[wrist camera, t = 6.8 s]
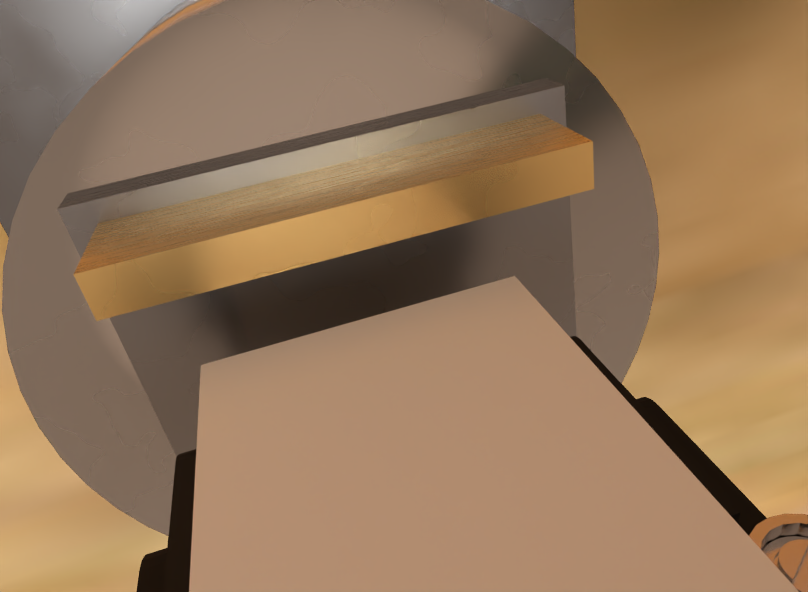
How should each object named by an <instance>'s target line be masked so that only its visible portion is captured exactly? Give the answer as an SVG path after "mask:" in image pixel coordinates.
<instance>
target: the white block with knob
mask: <svg viewBox="0 0 808 592" xmlns="http://www.w3.org/2000/svg"><path fill="white" fill-rule="evenodd" d="M189 592H799V591H798V590H797V589H796V588H795V587H794V586H793V585H792V583H791V582H790V581H789V580H788V579H787V578H786V577H785V576H784V575H783V573H782V572H781V571H780V570H779V569H778V568H777V567H776V566H775V565H774V563H773V562H772V561H771V560H770V559H769V558H768V557H767V556H766V555H765V553H764V552H763V551H762V550H761V549H760V548H759V547H758V546H757V545H756V543H755V542H754V541H753V540H752V539H751V538H750V537H749V536H748V535H747V533H746V532H745V531H744V530H743V529H742V528H741V527H740V526H739V525H738V523H737V522H736V521H735V520H734V519H733V518H732V517H731V516H730V515H729V513H728V512H727V511H726V510H725V509H724V508H723V507H722V506H721V505H720V503H719V502H718V501H717V500H716V499H715V498H714V497H713V496H712V495H711V493H710V492H709V491H708V490H707V489H706V488H705V487H704V486H703V485H702V483H701V482H700V481H699V480H698V479H697V478H696V477H695V476H694V475H693V473H692V472H691V471H690V470H689V469H688V468H687V467H686V466H685V465H684V463H683V462H682V461H681V460H680V459H679V458H678V457H677V456H676V455H675V453H674V452H673V451H672V450H671V449H670V448H669V447H668V446H667V445H666V443H665V442H664V441H663V440H662V439H661V438H660V437H659V436H658V435H657V433H656V432H655V431H654V430H653V429H652V428H651V427H650V426H649V425H648V423H647V422H646V421H645V420H644V419H643V418H642V417H641V416H640V415H639V413H638V412H637V411H636V410H635V409H634V408H633V407H632V406H631V405H630V403H629V402H628V401H627V400H626V399H625V398H624V397H623V396H622V395H621V393H620V392H619V391H618V390H617V389H616V388H615V387H614V386H613V385H612V383H611V382H610V381H609V380H608V379H607V378H606V377H605V376H604V375H603V373H602V372H601V371H600V370H599V369H598V368H597V367H596V366H595V365H594V363H593V362H592V361H591V360H590V359H589V358H588V357H587V356H586V355H585V353H584V352H583V351H582V350H581V349H580V348H579V347H578V346H577V345H576V343H575V342H574V341H573V340H572V339H571V338H570V337H569V336H568V335H567V333H566V332H565V331H564V330H563V329H562V328H561V327H560V326H559V325H558V323H557V322H556V321H555V320H554V319H553V318H552V317H551V316H550V315H549V313H548V312H547V311H546V310H545V309H544V308H543V307H542V306H541V305H540V303H539V302H538V301H537V300H536V299H535V298H534V297H533V296H532V295H531V293H530V292H529V291H528V290H527V289H526V288H525V287H524V286H523V285H522V283H521V282H520V281H519V280H518V279H517V278H516V277H515V276H512V277H509V278H505V279H502V280H498V281H495V282H491V283H488V284H484V285H481V286H477V287H474V288H470V289H467V290H463V291H460V292H456V293H453V294H449V295H446V296H442V297H439V298H435V299H431V300H428V301H424V302H421V303H417V304H414V305H410V306H407V307H403V308H400V309H396V310H393V311H389V312H386V313H382V314H379V315H375V316H372V317H368V318H365V319H361V320H358V321H354V322H351V323H347V324H343V325H340V326H336V327H333V328H329V329H326V330H322V331H319V332H315V333H312V334H308V335H305V336H301V337H298V338H294V339H291V340H287V341H284V342H280V343H277V344H273V345H270V346H266V347H263V348H259V349H256V350H252V351H248V352H245V353H241V354H238V355H234V356H231V357H227V358H224V359H220V360H217V361H213V362H210V363H206V364H203V365H201V371H200V390H199V409H198V429H197V448H196V467H195V486H194V506H193V525H192V544H191V564H190V583H189Z"/></svg>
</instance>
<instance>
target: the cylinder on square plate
mask: <svg viewBox="0 0 808 592" xmlns="http://www.w3.org/2000/svg"><path fill="white" fill-rule="evenodd" d="M0 222H1V224H2V226H3V228H4V230H5V232H6V233H7V235H8V237H9V240H8V245H7V250H6V255H5V260H4V265H3V297H2V313H3V320H4V327H5V334H6V340H7V347H8V353H9V356H10V359H11V363H12V366H13V369H14V372H15V375H16V378H17V381H18V385H19V388H20V391H21V393H22V395H23V397H24V399H25V401H26V403H27V405H28V407H29V409H30V411H31V413H32V415H33V417H34V419H35V421H36V423H37V424H38V426H39V428H40V429H41V431H42V432H43V433H44V435H45V436H46V438H47V439H48V440H49V442H50V443H51V445H52V446H53V447H54V449H55V450H56V452H57V453H58V454H59V456H60V457H61V458H62V459H63V460H64V461H65V462H66V464H67V465H68V466H69V467H70V468H71V469H72V470H73V471H74V472H75V473H76V474H77V475H78V476H79V477H80V478H81V479H82V480H83V481H84V482H85V483H86V484H87V485H88V486H89V487H90V488H92V489H93V490H94V491H95V492H97V493H98V494H99V495H101V496H102V497H103V498H104V499H106V500H107V501H108V502H109V503H111V504H112V505H113V506H115V507H116V508H117V509H119V510H121V511H122V512H124V513H126V514H127V515H129V516H131V517H132V518H134V519H136V520H137V521H139V522H141V523H142V524H144V525H146V526H147V527H150V528H152V529H154V530H156V531H159V532H161V533H163V534H165V535H167V536H169V526H170V515H171V505H172V494H173V483H174V472H175V462H176V457H177V455H178V454H181V453H184V452H188V451H191V450H194V449H196V448H197V429H198V409H199V390H200V371H201V365H203V364H206V363H210V362H213V361H217V360H220V359H224V358H227V357H231V356H234V355H238V354H241V353H245V352H248V351H252V350H256V349H259V348H263V347H266V346H270V345H273V344H277V343H280V342H284V341H287V340H291V339H294V338H298V337H301V336H305V335H308V334H312V333H315V332H319V331H322V330H326V329H329V328H333V327H336V326H340V325H343V324H347V323H351V322H354V321H358V320H361V319H365V318H368V317H372V316H375V315H379V314H382V313H386V312H389V311H393V310H396V309H400V308H403V307H407V306H410V305H414V304H417V303H421V302H424V301H428V300H431V299H435V298H439V297H442V296H446V295H449V294H453V293H456V292H460V291H463V290H467V289H470V288H474V287H477V286H481V285H484V284H488V283H491V282H495V281H498V280H502V279H505V278H509V277H512V276H515V277H516V278H517V279H518V280H519V281H520V282H521V283H522V285H523V286H524V287H525V288H526V289H527V290H528V291H529V292H530V293H531V295H532V296H533V297H534V298H535V299H536V300H537V301H538V302H539V303H540V305H541V306H542V307H543V308H544V309H545V310H546V311H547V312H548V313H549V315H550V316H551V317H552V318H553V319H554V320H555V321H556V322H557V323H558V325H559V326H560V327H561V328H562V329H563V330H564V331H565V332H566V333H567V335H568V336H569V337H572V336H577V337H578V338H579V339H581V340H582V341H583V343H584V344H585V345H586V346H587V347H588V348H589V349H590V350H591V351H592V352H593V353H594V354H595V356H596V357H597V358H598V359H599V360H600V361H601V362H602V363H603V364H604V365H605V366H606V367H607V369H608V370H609V371H610V372H611V373H612V374H613V375H614V376H615V377H616V378H617V379H618V380H619V382H620V383H622V381H623V379H624V377H625V375H626V373H627V371H628V369H629V367H630V365H631V363H632V361H633V359H634V357H635V355H636V353H637V350H638V348H639V345H640V342H641V339H642V336H643V333H644V331H645V328H646V325H647V322H648V319H649V315H650V310H651V306H652V301H653V297H654V292H655V288H656V279H657V268H658V258H659V238H658V216H657V210H656V205H655V199H654V194H653V189H652V183H651V179H650V176H649V173H648V170H647V167H646V164H645V161H644V159H643V156H642V153H641V150H640V147H639V144H638V142H637V141H636V139H635V137H634V135H633V133H632V131H631V129H630V127H629V125H628V123H627V121H626V119H625V118H624V116H623V114H622V112H621V110H620V109H619V107H618V106H617V105H616V103H615V102H614V101H613V99H612V98H611V97H610V95H609V94H608V93H607V91H606V90H605V88H604V87H603V86H602V84H601V83H600V82H599V80H598V79H597V78H596V77H595V76H594V75H593V74H592V73H591V72H590V71H589V70H588V69H587V68H586V67H585V66H584V65H583V64H582V63H581V62H580V61H579V60H578V59H577V58H576V45H575V20H574V0H0Z"/></svg>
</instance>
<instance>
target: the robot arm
mask: <svg viewBox="0 0 808 592" xmlns="http://www.w3.org/2000/svg"><path fill="white" fill-rule="evenodd" d="M570 338H571V339H572V340H573V341H574V342H575V343H576V345H577V346H578V347H579V348H580V349H581V350H582V351H583V352H584V353H585V355H586V356H587V357H588V358H589V359H590V360H591V361H592V362H593V363H594V365H595V366H596V367H597V368H598V369H599V370H600V371H601V372H602V373H603V375H604V376H605V377H606V378H607V379H608V380H609V381H610V382H611V383H612V385H613V386H614V387H615V388H616V389H617V390H618V391H619V392H620V393H621V395H622V396H623V397H624V398H625V399H626V400H627V401H628V402H629V403H630V405H631V406H632V407H633V408H634V409H635V410H636V411H637V412H638V413H639V415H640V416H641V417H642V418H643V419H644V420H645V421H646V422H647V423H648V425H649V426H650V427H651V428H652V429H653V430H654V431H655V432H656V433H657V435H658V436H659V437H660V438H661V439H662V440H663V441H664V442H665V443H666V445H667V446H668V447H669V448H670V449H671V450H672V451H673V452H674V453H675V455H676V456H677V457H678V458H679V459H680V460H681V461H682V462H683V463H684V465H685V466H686V467H687V468H688V469H689V470H690V471H691V472H692V473H693V475H694V476H695V477H696V478H697V479H698V480H699V481H700V482H701V483H702V485H703V486H704V487H705V488H706V489H707V490H708V491H709V492H710V493H711V495H712V496H713V497H714V498H715V499H716V500H717V501H718V502H719V503H720V505H721V506H722V507H723V508H724V509H725V510H726V511H727V512H728V513H729V515H730V516H731V517H732V518H733V519H734V520H735V521H736V522H737V523H738V525H739V526H740V527H741V528H742V529H743V530H744V531H745V532H746V533H747V535H748V536H749V537H750V538H751V539H752V540H753V541H754V542H755V543H756V545H757V546H758V547H759V548H760V549H761V550H762V551H763V552H764V553H765V555H766V556H767V557H768V558H769V559H770V560H771V561H772V562H773V563H774V565H775V566H776V567H777V568H778V569H779V570H780V571H781V572H782V573H783V575H784V576H785V577H786V578H787V579H788V580H789V581H790V582H791V583H792V585H793V586H794V587H795V588H796V589H797V590H798V591H799V592H808V515H806V514H782V515H777V516H773V517H769V518H766V517H765V516H764V515H763V514H762V513H761V512H760V511H759V510H758V509H757V508H756V507H755V505H754V504H753V503H752V502H751V501H750V500H749V499H748V498H747V497H746V496H745V495H744V494H743V493H742V492H741V491H740V490H739V489H738V488H737V487H736V486H735V485H734V484H733V483H732V482H731V481H730V479H729V478H728V477H727V476H726V475H725V474H724V473H723V472H722V471H721V470H720V469H719V468H718V467H717V466H716V465H715V464H714V463H713V462H712V461H711V460H710V459H709V458H708V457H707V456H706V454H705V453H704V452H703V451H702V450H701V449H700V448H699V447H698V446H697V445H696V444H695V443H694V442H693V441H692V440H691V439H690V438H689V437H688V436H687V435H686V434H685V433H684V432H683V431H682V429H681V428H680V427H679V426H678V425H677V424H676V423H675V422H674V421H673V420H672V419H671V418H670V417H669V416H668V415H667V414H666V413H665V412H664V411H663V410H662V409H661V408H660V407H659V406H658V405H657V404H656V403H655V402H654V401H653V400H651V399H649V398H647V397H642V398H639V399H635V398H634V397H633V396H632V395H631V393H630V392H629V391H628V390H627V389H626V388H625V387H624V386H623V385H622V384H621V383H620V382H619V380H618V379H617V378H616V377H615V376H614V375H613V374H612V373H611V372H610V371H609V370H608V369H607V367H606V366H605V365H604V364H603V363H602V362H601V361H600V360H599V359H598V358H597V357H596V356H595V354H594V353H593V352H592V351H591V350H590V349H589V348H588V347H587V346H586V345H585V344H584V343H583V341H582V340H581V339H579V338H578V337H577V336H572V337H570ZM195 467H196V449H194V450H191V451H188V452H184V453H181V454H178V455H177V457H176V462H175V472H174V483H173V494H172V505H171V515H170V526H169V537H168V548H166V549H163V550H159V551H156V552H153V553H150V554H147V555H145V556H144V558H143V560H142V562H141V566H140V571H139V578H138V586H137V592H189V583H190V564H191V544H192V525H193V506H194V486H195Z"/></svg>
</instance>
